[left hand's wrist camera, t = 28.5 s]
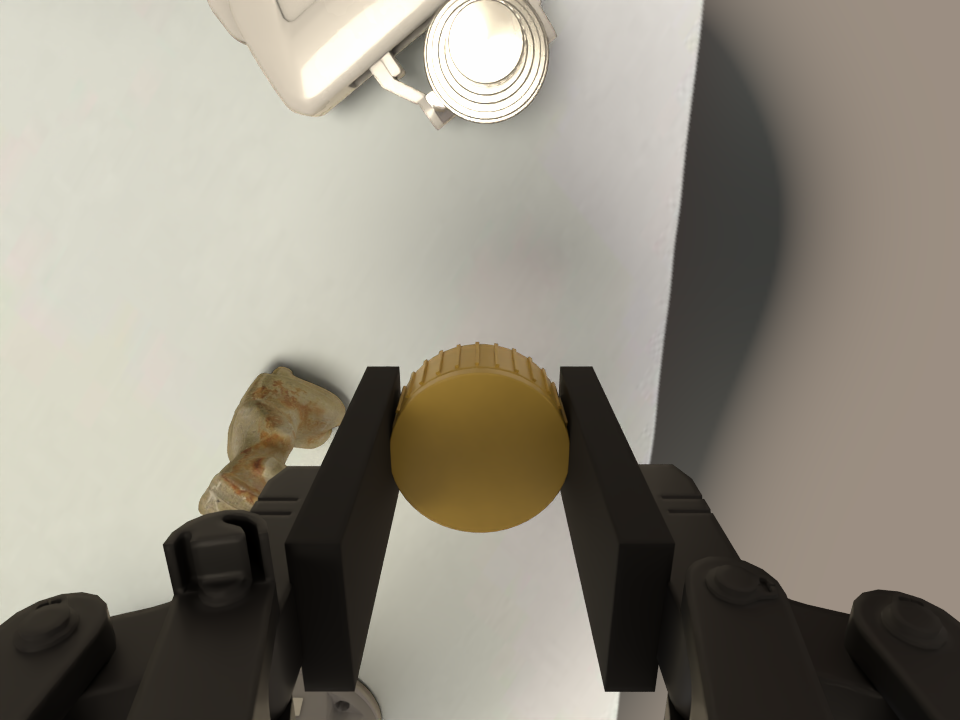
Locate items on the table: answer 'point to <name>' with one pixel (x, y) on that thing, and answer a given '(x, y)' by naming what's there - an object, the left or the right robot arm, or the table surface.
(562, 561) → the table surface
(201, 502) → the sculpture
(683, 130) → the table surface
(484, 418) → the cap
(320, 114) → the right robot arm
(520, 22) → the bottle
